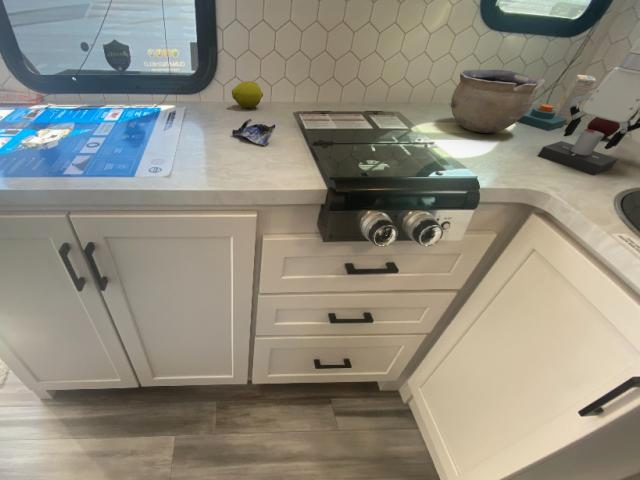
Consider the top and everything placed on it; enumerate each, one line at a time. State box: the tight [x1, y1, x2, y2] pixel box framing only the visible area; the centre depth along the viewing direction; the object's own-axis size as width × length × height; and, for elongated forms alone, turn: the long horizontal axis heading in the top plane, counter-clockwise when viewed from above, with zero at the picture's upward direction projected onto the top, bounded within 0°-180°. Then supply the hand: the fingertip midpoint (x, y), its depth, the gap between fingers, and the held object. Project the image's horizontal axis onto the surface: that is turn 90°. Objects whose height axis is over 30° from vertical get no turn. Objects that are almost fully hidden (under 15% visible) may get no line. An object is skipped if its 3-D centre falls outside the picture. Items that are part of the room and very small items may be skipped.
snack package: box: [231, 118, 276, 147], centre depth 98 cm, size 12×6×12 cm
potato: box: [586, 116, 620, 139], centre depth 107 cm, size 7×8×7 cm
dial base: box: [537, 140, 619, 176], centre depth 93 cm, size 14×10×3 cm
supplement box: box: [554, 74, 597, 125], centre depth 116 cm, size 8×5×13 cm, turn 147°
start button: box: [538, 103, 554, 112], centre depth 115 cm, size 4×4×2 cm
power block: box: [517, 106, 568, 131], centre depth 117 cm, size 12×10×4 cm
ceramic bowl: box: [450, 69, 546, 134], centre depth 106 cm, size 22×22×15 cm
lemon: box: [231, 80, 264, 109], centre depth 117 cm, size 11×8×8 cm
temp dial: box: [571, 128, 604, 155], centre depth 90 cm, size 4×4×5 cm
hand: (586, 141), depth 90 cm, fingers open, 9 cm apart
